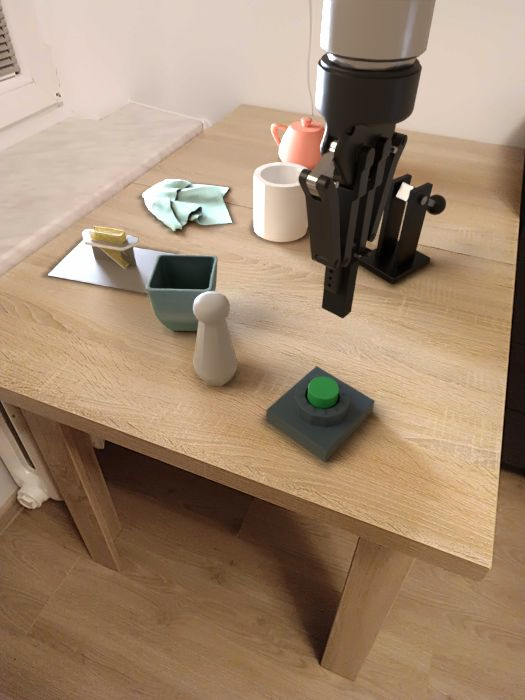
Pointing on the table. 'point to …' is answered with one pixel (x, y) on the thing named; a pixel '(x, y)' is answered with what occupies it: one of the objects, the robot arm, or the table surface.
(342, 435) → the control block
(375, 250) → the switch bracket
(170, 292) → the flower pot
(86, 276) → the platform
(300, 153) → the teapot
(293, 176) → the mug
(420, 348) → the table surface
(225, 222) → the cloth
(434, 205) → the lever
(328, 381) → the button
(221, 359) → the salt shaker
